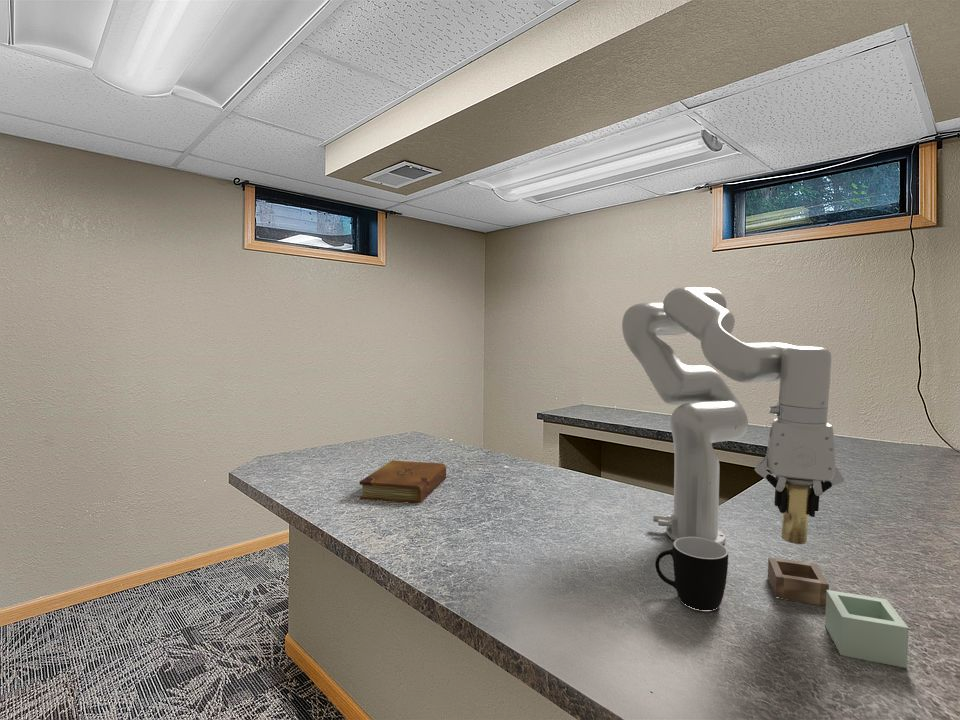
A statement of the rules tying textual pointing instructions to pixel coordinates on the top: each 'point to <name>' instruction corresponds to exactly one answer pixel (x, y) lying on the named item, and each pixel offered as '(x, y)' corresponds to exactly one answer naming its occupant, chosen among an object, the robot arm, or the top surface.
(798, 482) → the pin
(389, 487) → the diary
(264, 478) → the top surface
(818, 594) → the mount
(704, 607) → the mug
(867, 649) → the socket
